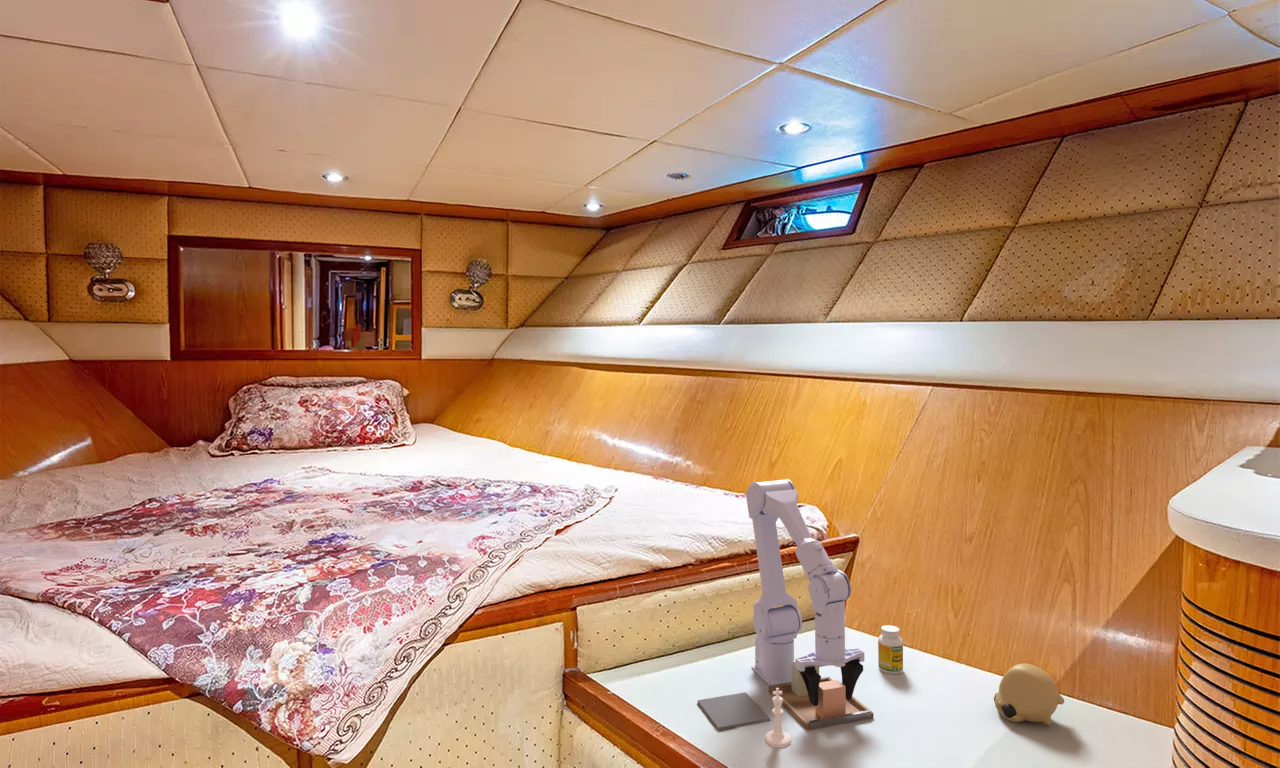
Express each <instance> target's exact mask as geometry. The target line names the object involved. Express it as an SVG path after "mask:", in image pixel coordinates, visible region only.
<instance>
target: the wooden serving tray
mask: <svg viewBox="0 0 1280 768" xmlns="http://www.w3.org/2000/svg"><path fill="white" fill-rule="evenodd" d="M831 680H833V679H832V678H831V677H830V676H827V677H821V679H820V682H826V681H831ZM776 688H779V691H782V694H779V696H780V697H782V698H783V702H782V705H781V706H782V707H783V708H785V710H787V711H788V712H789V713H790V715H792V717H794V718H795V719H796V720H797V722H799V724H801V725H802V726H803V728H805V730H807V731H813V730H818V729H823V728H830V727H834V726H840V725H845V724H849V723H854V722H861V721H865V720H871V719H874V712H873V711H871V710H870V708H868V707H867V706H866V705H864V704H863V703H862V702H860V700H858V699H857V698H856V697H854V696H853V695H852V699H851V700H848V699H847V698H846V714H844V715H839V716H834V717H828V718H823V719H822V718H821V717H820V716H819V715H817V714H816V713H815V706H814V705H813V704H812V703H811V702H810V701H809V696H808V695H806V696H800V697H798V696H797V695H796V694H795V693H794V692H793V691H792V690H791V683H786V684H780V685H774V686H768V692H769V693H770V694H771V695H772V697H774V696H776V695H773V691H776Z"/></svg>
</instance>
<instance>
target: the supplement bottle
mask: <svg viewBox="0 0 1280 768" xmlns="http://www.w3.org/2000/svg"><path fill="white" fill-rule="evenodd" d="M900 631H901V630H900V627H898V626H895V625H890V624H887V625H882V626H881V627H880V635H879V636H878V639H877V646H878V647H877V653H878V654H877V657H878V661H877V662H878V669H879V670H880V671H881V672H883V673H885V674H890V675H899V674H901V673H902V672H903V671H904V642H903V639H902V637H901V636H900V635H901V632H900Z"/></svg>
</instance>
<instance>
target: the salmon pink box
mask: <svg viewBox="0 0 1280 768" xmlns="http://www.w3.org/2000/svg"><path fill="white" fill-rule="evenodd" d="M815 713H816V714H817V715H819V716H820V717H821V718H822V719H823V718H828V717H834V716H839V715H844V714H846V693H845V686H844V685H843V684H842V681H839V680H838V679H832V680H831V681H826V682H820V683H819V690H818V706H815Z"/></svg>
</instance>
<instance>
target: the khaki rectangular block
mask: <svg viewBox="0 0 1280 768" xmlns="http://www.w3.org/2000/svg"><path fill="white" fill-rule="evenodd" d="M815 670H817V673H818V674H819V675H820V667H816V668H815ZM791 690H792V691H793V692H794V693H795V694H796V695H797V696H798V697H800V696H806V695H808V692H807V688H806V685H805V683H804V680H803V678H802V676H801V674H800V672H799V670H798V669H797V668H796V667H795V661H794V662H793V663H791Z"/></svg>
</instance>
